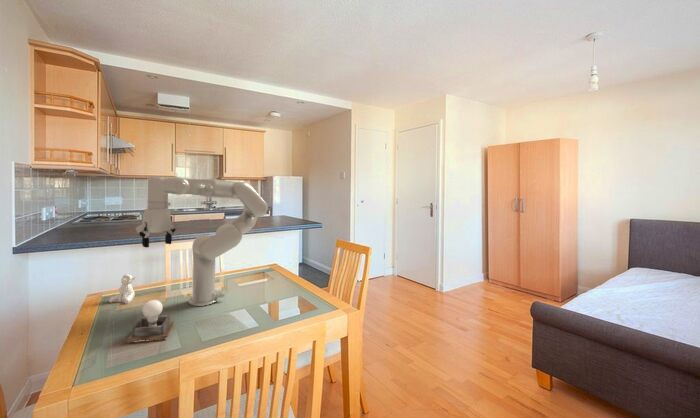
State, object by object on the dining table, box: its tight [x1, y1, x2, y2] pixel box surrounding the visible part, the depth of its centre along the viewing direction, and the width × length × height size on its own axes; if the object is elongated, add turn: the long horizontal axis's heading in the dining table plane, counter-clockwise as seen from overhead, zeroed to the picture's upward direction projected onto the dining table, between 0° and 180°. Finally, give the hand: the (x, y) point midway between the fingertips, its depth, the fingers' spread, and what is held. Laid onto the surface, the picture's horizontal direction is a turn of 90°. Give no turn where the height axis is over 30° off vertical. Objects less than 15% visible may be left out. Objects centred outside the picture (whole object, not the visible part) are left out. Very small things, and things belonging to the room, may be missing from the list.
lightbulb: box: [142, 299, 164, 327], centre depth 115 cm, size 6×6×11 cm
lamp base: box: [126, 315, 175, 344], centre depth 115 cm, size 12×12×4 cm
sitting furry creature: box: [108, 274, 136, 305], centre depth 144 cm, size 10×9×12 cm
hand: (157, 245), depth 134 cm, fingers open, 9 cm apart
